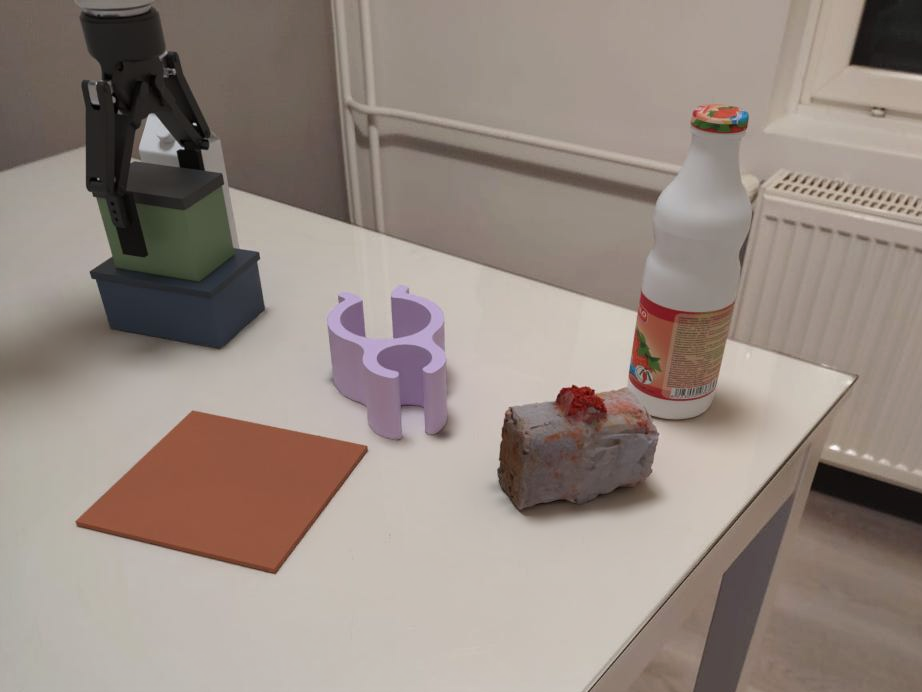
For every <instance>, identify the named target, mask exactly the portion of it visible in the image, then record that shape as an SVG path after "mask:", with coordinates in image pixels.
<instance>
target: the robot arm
mask: <svg viewBox="0 0 922 692" xmlns="http://www.w3.org/2000/svg"><path fill="white" fill-rule="evenodd" d="M73 1H74V4H76V5H77V6H78V7H79V8H80V9H82V11H81V12H80V15H79V17H78V19H79V21H80V25H81V29H82V33H83V34H82V35H83V37H84V42H85V45H86V49H87V52H88V54H89V56H90V57H92V58H93V59H95V61H97V63H98V64H99V65H100V71H101V79H99V80H90V79H83V80H82V81H81V84H80V85H81V92H82V97H83V101H84V107H85V188H86V190H87V192H89V193H92V192H93V193H100V194H103V195H104V196H105V199H106V202H107V206H108V209H109V212H110V216H111V220H112V223H113V225H114V226H115V227H116V230H117V234H118V238H119V241H120V245H121V249H122V252H123V254H125V255H131V256H137V257H144V258H145V257H146V256H148V252H147V248H146V244H145V240H144V236H143V232H142V228H141V224H140V220H139V216H138V212H137V208H136V204H135V200H134V196H133V192H129V191H126V187H127V181H128V175H129V169H130V163H132V156H133V155H132V154H133V150H134V143H135V137H136V131H137V130H138V129H140V128H141V126H142V121H143V120H145V119H147V118H148V115H149V114H150V113H154V114H155V115H156V116H157V117H158V119H159V120H160V121H161V122H162V124H163V125H164V126H165V127H166V129H167V130H168V131H169V132H170V133H171V135H172V136H173V137H174V138H175V140H176V141H177V142H178V143H179V145H180V146H181V147H184V150H183V149H179V150H177V151H176V152H177V156H178V161H179V166H180V168H188V169H195V170H202V171H205V168H204V164H203V163H204V162H203V157H202V152H201V150H208V149H209V141H208V138H209V137H210V130H211V128H210V127H209V124H208V122H207V120H206V118H205V117H204V114H203V112H202V110H201V107H200V106H199V104H198V102H197V100H196V97H195V96H194V94H193V91H192V89H191V87H190V85H189V83H188V81H187V79H186V76H185V74H184V72H183V71H184V70H183V67H182V63H181V59H180V56H179V53H178V52H177V51H173V50H166V49H167V45H166V40H165V35H164V29H163V26H162V20H161V16H160V12H159V11H158V10H157V9H156V8H155V7H154V6H152V4H154V2H155V1H156V0H73ZM119 112H120V113H119ZM193 123H196V125H193ZM205 138H206V139H205ZM114 177H115V178H116V181H115V182H114Z"/></svg>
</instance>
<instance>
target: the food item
mask: <svg viewBox="0 0 922 692" xmlns="http://www.w3.org/2000/svg"><path fill="white" fill-rule="evenodd" d="M659 436H660V432H659V431H658V429H657V426H656V425H655V424H654V420H653V418H652V415H650V414H649V413H648V411H647V409H646V408H645V407H644V406H643V404H642V403H641V402H640V401H639V399H638V398H637V396H636V395H635V394H633V392H631V391H630V390H629V389H628V388H627V386H625V387H622V388H619V389H612V390H609V391H600V392H596V389H594V388H591V387H590V386H587V385H584V386H580V387H579V386H578V385H575V384H571V387H570V386H568V387H562V388H560V390H559V392H558V394H557V395H556V399H555V400H552V401H543V402H534V403H528V404H527V403H525V404H523V405H514V406H508V409H507V410H506V411H505V412H504V417H503V425H502V427H501V434H500V437H501V441H500V444H499V455H498V461H499V467H497V469H496V471H497V478H498V481H499V483H500V484H499V485H500V486H501V488H502V489H503V490H504V491H505V492H506V494H507V495H508V497H509V498H510V499H511V500H512V502H513V504H514V505H515V506H516V508H517V509H518V510H519V511H521V510H523V509H526V508H530V507H531V508H532V507H533V506H536V505H538V504H548V503H550V502H554V501H558V500H566V501H568V502H571V503H574V504H577V505H578V504H579V505H580V504H581V505H583V504H586V502H588V501H591V500H594V499H596V498H597V497H598V495H606V494H609V493H611V492H613V491H614V490H615V489H617V488H621V487H623V488H624V487H628V488H633V487H635V485H637V484H638V483H639V482H641V483H645V481H646V480H647V479H648V478H649V477H651V475H652V473H653V468H652V467H653V464H654V460H655V453H656V451H657V446H658V444H659V443H658V442H659V440H660V438H659Z"/></svg>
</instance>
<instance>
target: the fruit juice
mask: <svg viewBox="0 0 922 692" xmlns="http://www.w3.org/2000/svg"><path fill="white" fill-rule="evenodd" d="M749 116H750V115H749V112H748V111H746V110H745V109H743V108H740V107H738V106H734V105H729V104H718V103H717V104H716V103H715V104H714V103H713V104H712V103H711V104H704V105H699V106H696V107H695V108H694V109H693V111H692V114H691V118H690V127H689V130H690V133H691V140H690V145H689V148H688V151H687V154H686V157H685V159H684V161H683V163H682V165H681V167H680V169H679V171H678V173H677V175H676V176H675V178H673V180H672V181H671V182H670V183H669V184H668V185H667V186H666V187H665V188H664V189H663V190H662V192H661V193H660V195H659V196H658V198H657V200H656V202H655V204H654V208H653V214H652V233H653V246H652V248H651V250H650V252H649V253H648V255H647V258H646V261H645V263H644V269H643V272H642V278H641V285H640V293H639V300H638V305H637V306H638V307H637V314H636V320H635V328H634V333H633V334H634V335H633V341H632V348H631V355H630V360H629V361H630V362H629V369H628V375H627V382H626V383H627V384H626V387H627V388H628V389H629V390H630V391H631V392H633V394H635V395H636V396H637V398H638V399H639V401H640V402H641V403H642V404H643V406H644V407H645V408H646V409H647V411H648V413H649V414H650V416H651V417H655V418H659V419H665V420H686V419H691V418H696V417H698V416H700V415H702V414H703V413H705V412H706V411H707V410H708V409H709V408H710V406H711V405H712V403H713V400H714V397H715V394H716V389H717V385H718V380H719V376H720V371H721V367H722V363H723V358H724V353H725V350H726V344H727V339H728V335H729V331H730V328H731V327H730V326H731V322H732V317H733V314H734V309H735V305H736V300H737V296H738V293H739V285H740V281H741V280H740V279H741V271H742V269H741V262H740V252H741V249H742V248H743V245H744V243H745V242H746V239H747V237H748V234H749V232H750V229H751V226H752V225H751V224H752V218H753V208H752V202H751V199H750V197H749V195H748V193H747V191H746V189H745V187H744V184H743V181H742V177H741V167H740V149H741V148H740V147H741V141H742V139H743V138H744V137H745V135H746V134H747V129H748V127H749V119H750V118H749Z"/></svg>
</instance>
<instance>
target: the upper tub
mask: <svg viewBox="0 0 922 692" xmlns="http://www.w3.org/2000/svg"><path fill="white" fill-rule="evenodd" d="M115 181H116V178H115V177H114V182H115ZM223 185H224V179H223V174H222V173H217V172H210V171H202V170H195V169H188V168H180V167H173V166H166V165H159V164H151V163H144V162H142V161H136V160H133V161H131V162H130V169H129V175H128V181H127V187H126V191H129V192H133V196H134V200H135V204H136V208H137V212H138V216H139V220H140V224H141V228H142V232H143V236H144V240H145V244H146V248H147V252H148V256H146V257H145V258H144V257H137V256H131V255H125V254H123V252H122V249H121V245H120V241H119V238H118V234H117V230H116V227H115V226H114V225H113V223H112V220H111V216H110V212H109V209H108V206H107V202H106V199H105V196H104V195H103V194H100V193H93V192H91V194H92V197H93V198H95V199H96V203H97V206H98V210H99V213H100V216H101V220H102V224H103V228H104V231H105V234H106V238H107V242H108V246H109V249H110V252H111V257H112V256H113V260H114V264H115V267H116V268H120V269H126V270H132V271H138V272H144V273H150V274H156V275H162V276H168V277H174V278H180V279H186V280H192V281H198V282H200V281H201V280H202V279H204V278H205V277H206V276H208V275H209V274H210V273H211V272H213V271H214V270H215V269H217V268H218V267H219V266H220V265H222V264H223V263H224V262H226V261H227V260H228V259H229V258H231V257H232V256H233V255H234V249H233V243H232V238H231V232H230V227H229V221H228V216H227V210H226V205H225V199H224V194H223V188H222V186H223Z"/></svg>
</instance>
